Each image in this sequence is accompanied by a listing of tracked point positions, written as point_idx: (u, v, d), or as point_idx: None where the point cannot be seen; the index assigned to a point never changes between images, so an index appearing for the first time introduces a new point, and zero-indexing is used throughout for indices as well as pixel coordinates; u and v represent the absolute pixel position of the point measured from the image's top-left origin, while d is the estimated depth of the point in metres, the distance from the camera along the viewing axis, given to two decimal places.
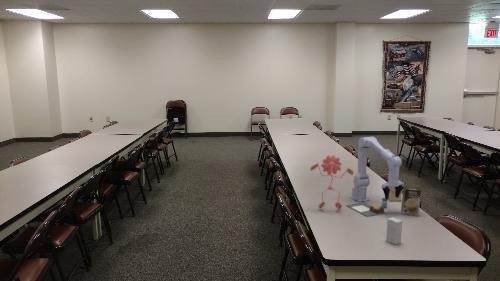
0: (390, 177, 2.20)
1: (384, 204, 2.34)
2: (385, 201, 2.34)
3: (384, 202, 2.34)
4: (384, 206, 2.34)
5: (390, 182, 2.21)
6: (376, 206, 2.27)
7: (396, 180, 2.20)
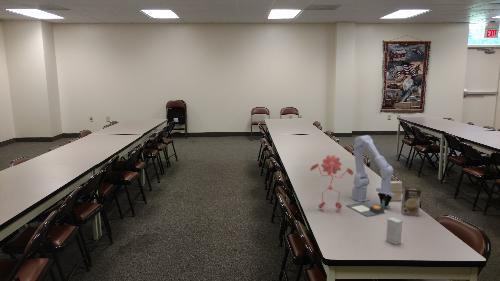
0: None
1: (384, 204, 2.34)
2: None
3: (384, 202, 2.34)
4: (384, 206, 2.34)
5: None
6: (376, 206, 2.27)
7: (382, 187, 2.32)
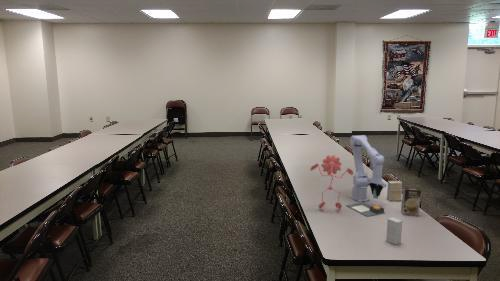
0: None
1: (375, 194, 2.31)
2: None
3: (375, 192, 2.31)
4: (375, 196, 2.32)
5: None
6: (376, 206, 2.27)
7: (373, 177, 2.29)
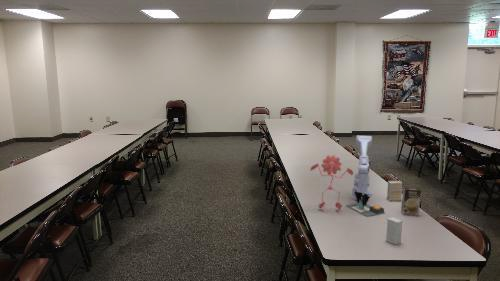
0: None
1: (361, 205, 2.30)
2: (362, 202, 2.30)
3: (361, 203, 2.30)
4: (361, 207, 2.31)
5: None
6: (376, 206, 2.27)
7: (359, 186, 2.28)
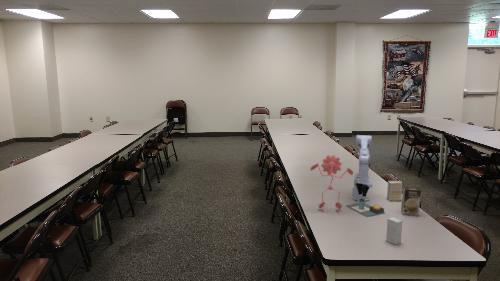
0: None
1: (361, 205, 2.30)
2: (362, 202, 2.30)
3: (361, 203, 2.30)
4: (361, 207, 2.31)
5: None
6: (376, 206, 2.27)
7: (359, 177, 2.27)
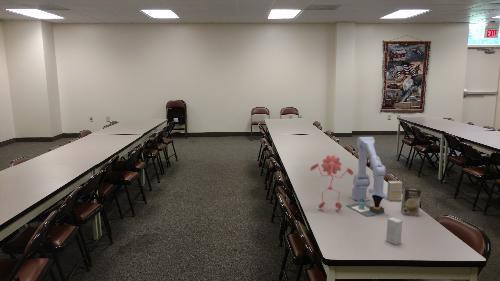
0: None
1: (361, 205, 2.30)
2: (362, 202, 2.30)
3: (361, 203, 2.30)
4: (361, 207, 2.31)
5: None
6: None
7: (374, 188, 2.24)
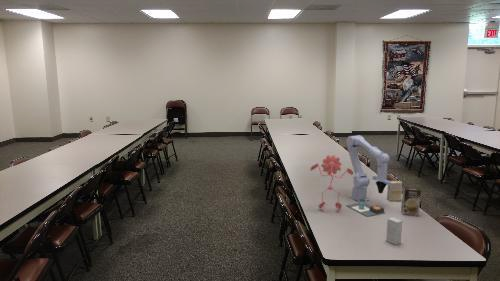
0: None
1: (361, 205, 2.30)
2: (362, 202, 2.30)
3: (361, 203, 2.30)
4: (361, 207, 2.31)
5: None
6: (376, 207, 2.27)
7: (378, 175, 2.32)
